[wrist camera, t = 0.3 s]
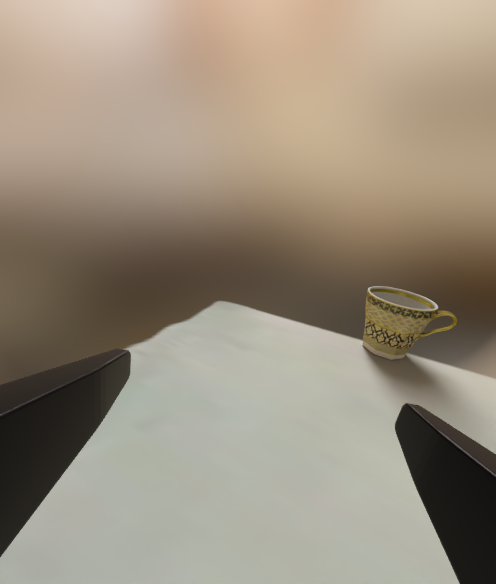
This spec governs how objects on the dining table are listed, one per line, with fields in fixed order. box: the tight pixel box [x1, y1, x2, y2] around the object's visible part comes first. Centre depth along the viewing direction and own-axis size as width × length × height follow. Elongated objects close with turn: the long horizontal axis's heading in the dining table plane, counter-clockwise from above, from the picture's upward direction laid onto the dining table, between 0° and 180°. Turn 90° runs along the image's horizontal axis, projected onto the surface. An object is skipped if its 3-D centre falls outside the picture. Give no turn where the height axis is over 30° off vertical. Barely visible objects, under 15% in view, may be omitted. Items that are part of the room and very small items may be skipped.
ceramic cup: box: [363, 286, 457, 360], centre depth 40 cm, size 13×10×10 cm
